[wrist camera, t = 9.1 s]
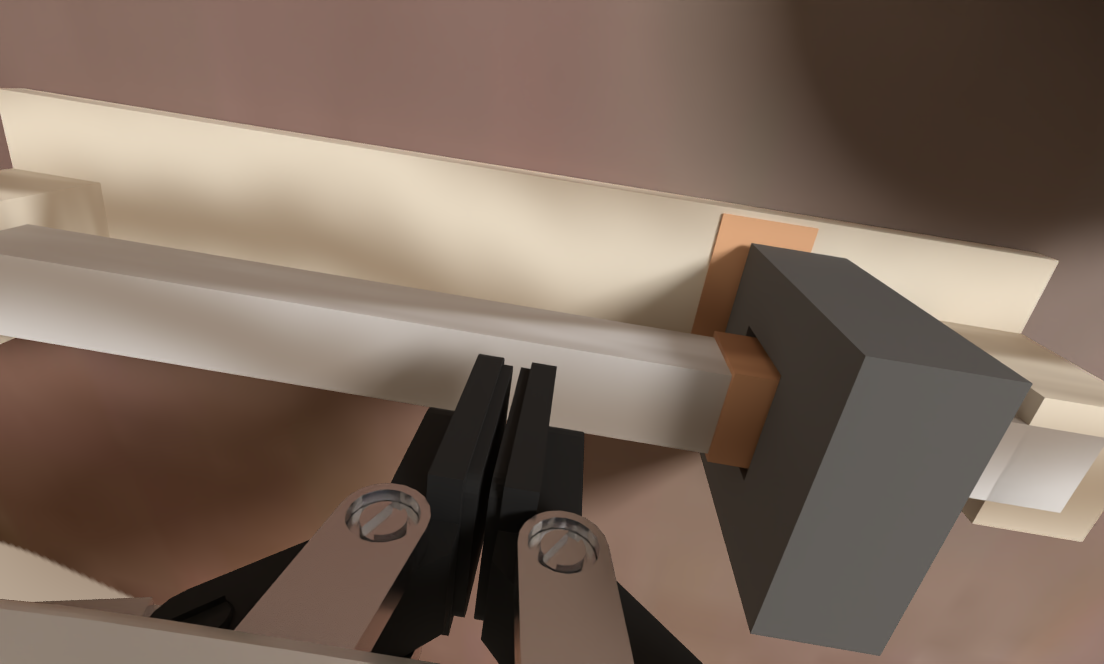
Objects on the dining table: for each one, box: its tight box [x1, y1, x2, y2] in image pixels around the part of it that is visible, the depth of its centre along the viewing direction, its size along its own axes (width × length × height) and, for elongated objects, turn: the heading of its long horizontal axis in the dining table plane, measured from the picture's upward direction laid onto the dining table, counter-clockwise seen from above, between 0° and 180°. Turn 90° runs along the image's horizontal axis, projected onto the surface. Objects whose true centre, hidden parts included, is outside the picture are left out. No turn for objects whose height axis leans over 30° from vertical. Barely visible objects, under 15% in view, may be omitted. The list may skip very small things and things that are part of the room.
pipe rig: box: [0, 88, 1104, 542], centre depth 17 cm, size 9×34×6 cm, turn 82°
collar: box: [700, 243, 1033, 656], centre depth 15 cm, size 7×3×8 cm, turn 172°
